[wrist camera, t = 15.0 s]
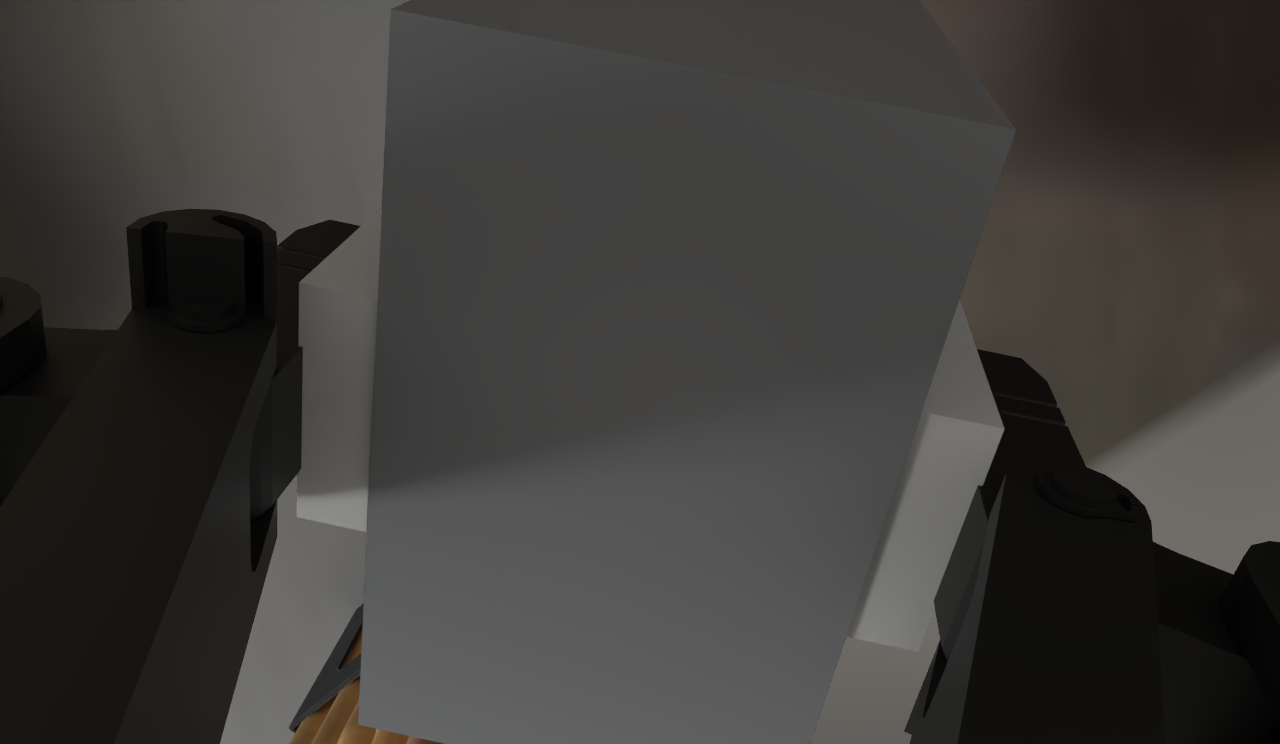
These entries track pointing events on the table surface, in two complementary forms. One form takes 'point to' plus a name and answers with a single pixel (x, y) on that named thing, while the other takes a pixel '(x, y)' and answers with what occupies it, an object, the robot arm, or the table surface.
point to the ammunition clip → (341, 700)
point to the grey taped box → (652, 354)
